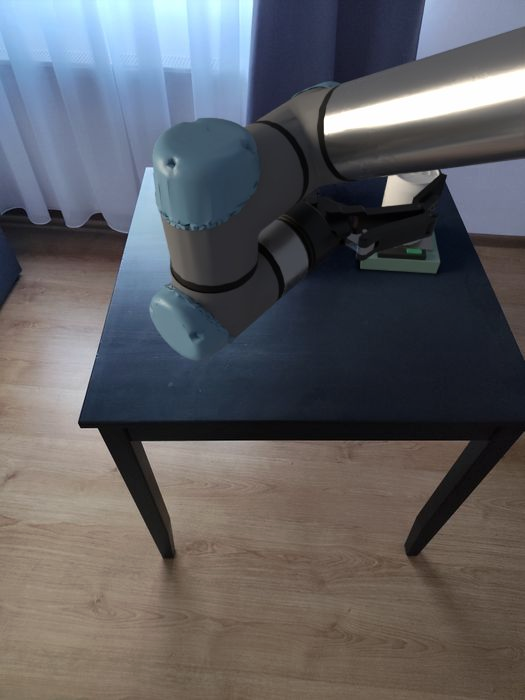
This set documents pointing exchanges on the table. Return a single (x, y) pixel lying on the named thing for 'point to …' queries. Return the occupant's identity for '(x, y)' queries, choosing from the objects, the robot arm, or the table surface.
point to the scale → (404, 259)
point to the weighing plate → (420, 245)
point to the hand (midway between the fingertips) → (391, 164)
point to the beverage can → (406, 188)
